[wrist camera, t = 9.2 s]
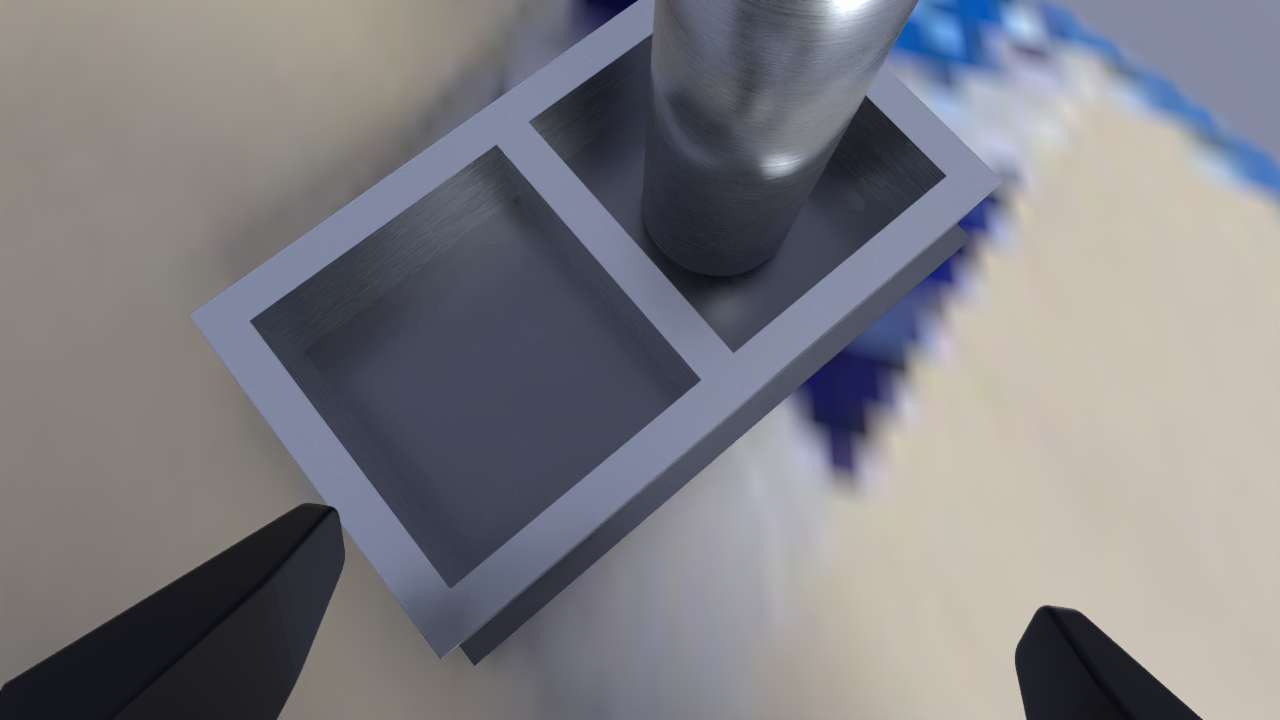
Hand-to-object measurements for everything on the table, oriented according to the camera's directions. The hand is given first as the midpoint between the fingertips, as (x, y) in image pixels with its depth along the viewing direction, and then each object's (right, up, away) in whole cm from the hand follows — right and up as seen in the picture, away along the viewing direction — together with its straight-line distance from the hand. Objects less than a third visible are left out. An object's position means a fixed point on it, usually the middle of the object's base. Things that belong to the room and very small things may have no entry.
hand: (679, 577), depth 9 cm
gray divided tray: (-1, +5, +12) cm, 13 cm away
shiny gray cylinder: (+2, +7, +12) cm, 14 cm away
